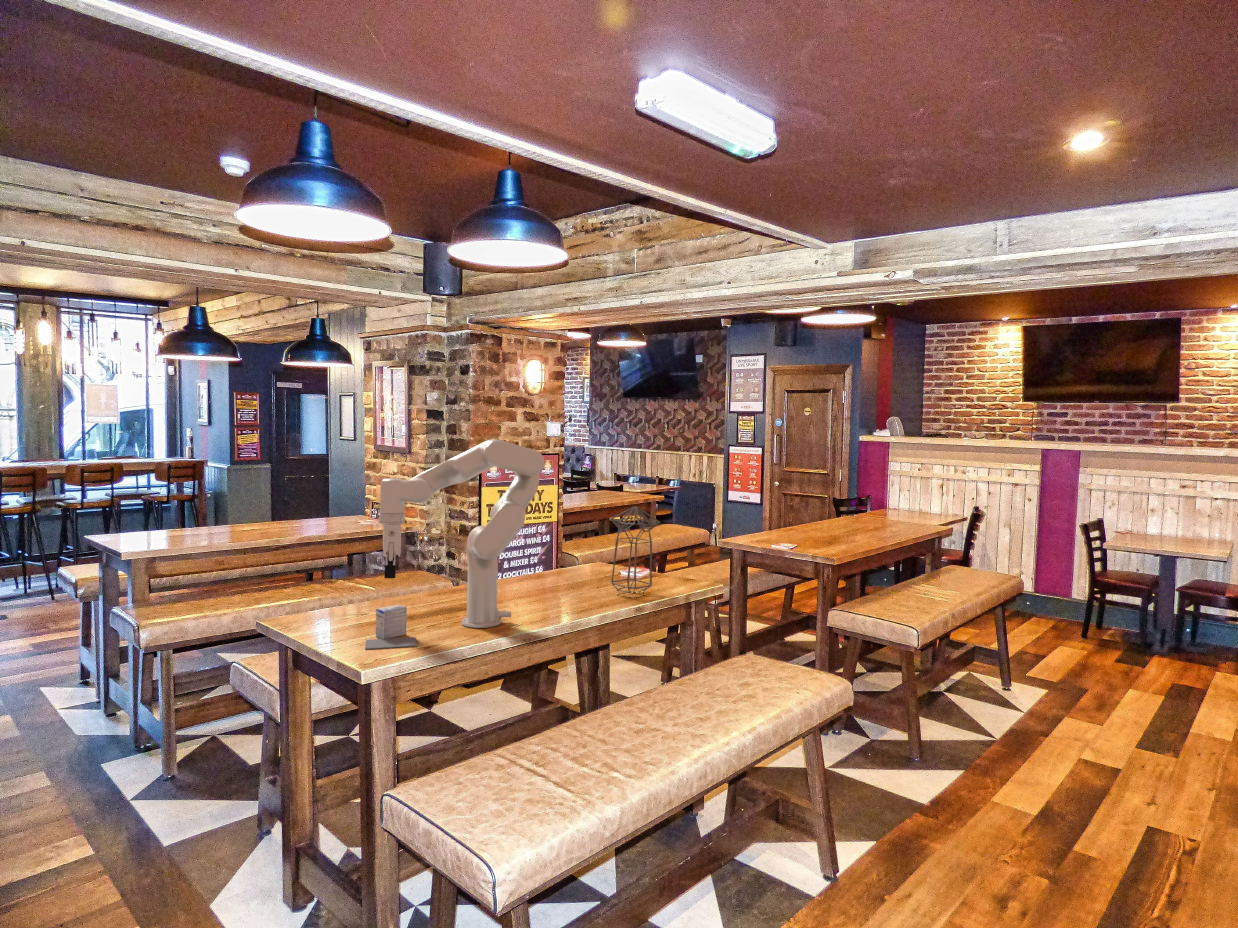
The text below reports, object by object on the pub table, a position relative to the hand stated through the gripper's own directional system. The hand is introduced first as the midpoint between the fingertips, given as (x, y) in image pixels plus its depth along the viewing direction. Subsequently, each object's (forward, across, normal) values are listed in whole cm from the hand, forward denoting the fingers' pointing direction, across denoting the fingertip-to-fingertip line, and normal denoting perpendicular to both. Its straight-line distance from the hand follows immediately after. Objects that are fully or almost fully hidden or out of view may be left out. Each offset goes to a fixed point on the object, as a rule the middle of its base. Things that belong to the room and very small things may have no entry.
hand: (389, 577), depth 223 cm
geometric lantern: (+14, +32, -91) cm, 98 cm away
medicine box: (+17, -7, -1) cm, 18 cm away
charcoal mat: (+16, -15, -1) cm, 22 cm away
